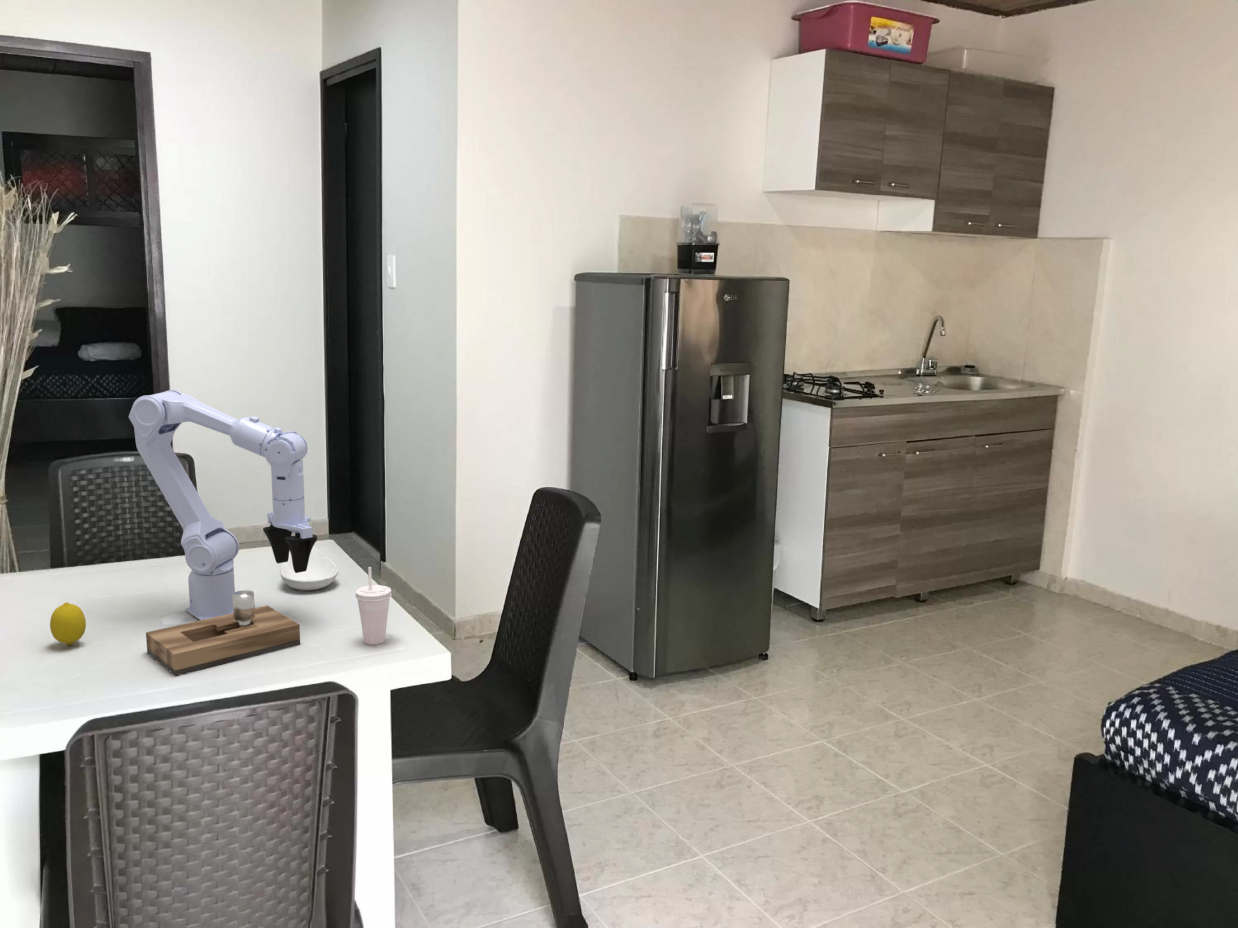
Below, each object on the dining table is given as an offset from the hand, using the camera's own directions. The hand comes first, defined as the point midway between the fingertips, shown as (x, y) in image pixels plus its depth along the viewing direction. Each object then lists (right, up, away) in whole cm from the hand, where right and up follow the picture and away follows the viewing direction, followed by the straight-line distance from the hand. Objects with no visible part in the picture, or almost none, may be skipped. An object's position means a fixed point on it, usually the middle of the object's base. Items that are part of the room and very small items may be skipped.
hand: (291, 566), depth 194 cm
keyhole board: (-7, -13, -13) cm, 20 cm away
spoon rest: (-6, -6, +27) cm, 28 cm away
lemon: (-35, -13, -14) cm, 39 cm away
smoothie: (+18, -13, -8) cm, 23 cm away
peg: (-5, -12, -11) cm, 17 cm away
